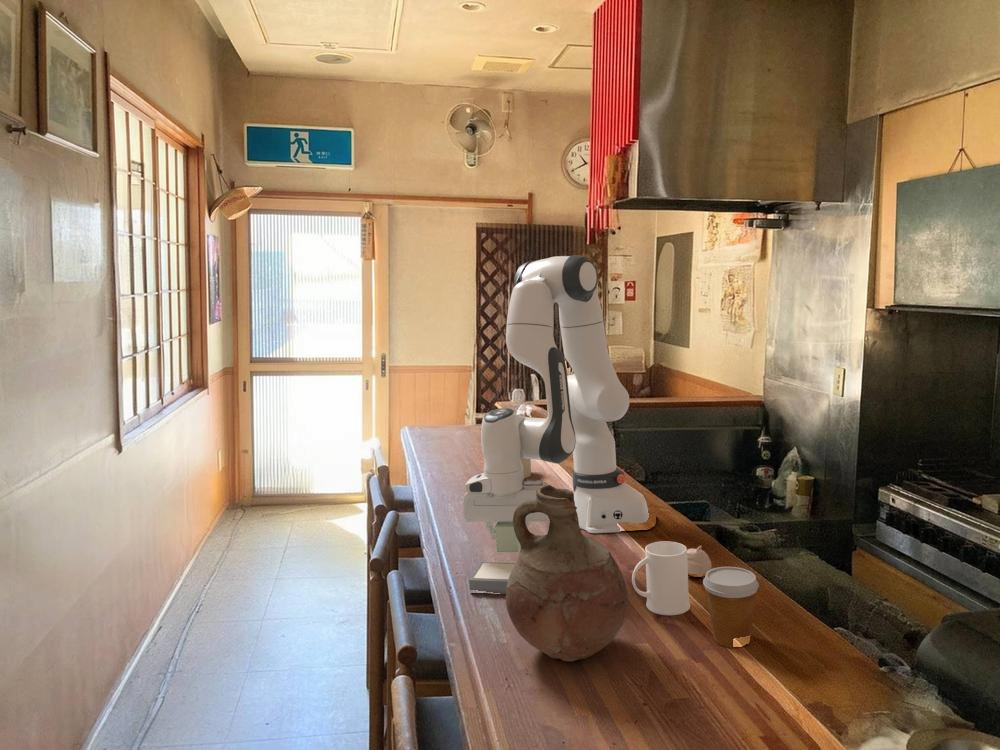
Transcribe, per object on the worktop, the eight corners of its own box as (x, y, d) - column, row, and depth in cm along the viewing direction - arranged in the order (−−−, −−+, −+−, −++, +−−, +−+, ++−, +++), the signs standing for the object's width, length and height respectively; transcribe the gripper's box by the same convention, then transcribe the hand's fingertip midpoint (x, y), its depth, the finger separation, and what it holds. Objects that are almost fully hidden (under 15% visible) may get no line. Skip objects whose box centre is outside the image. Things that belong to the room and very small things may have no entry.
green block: (522, 543, 182) (520, 519, 181) (518, 552, 177) (516, 526, 176) (501, 543, 183) (499, 519, 182) (496, 552, 178) (494, 526, 177)
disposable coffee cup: (752, 657, 134) (750, 590, 132) (697, 646, 139) (695, 581, 137) (765, 633, 142) (764, 570, 140) (713, 623, 147) (711, 562, 145)
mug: (640, 621, 149) (638, 561, 148) (624, 603, 158) (621, 546, 156) (697, 611, 152) (695, 552, 150) (678, 594, 160) (676, 538, 158)
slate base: (525, 576, 174) (524, 562, 174) (515, 595, 165) (514, 581, 164) (481, 574, 177) (481, 561, 176) (470, 593, 167) (469, 579, 167)
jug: (629, 685, 127) (621, 508, 123) (499, 681, 131) (487, 509, 127) (630, 624, 148) (624, 471, 144) (518, 622, 152) (509, 473, 148)
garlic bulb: (678, 580, 167) (677, 545, 166) (682, 569, 173) (681, 534, 171) (710, 583, 164) (709, 546, 163) (713, 571, 170) (712, 536, 169)
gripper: (551, 476, 178) (556, 534, 180) (465, 477, 183) (470, 534, 185) (547, 484, 172) (551, 544, 174) (457, 485, 177) (463, 544, 179)
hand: (509, 539), depth 180 cm, fingers closed on green block, 5 cm apart
